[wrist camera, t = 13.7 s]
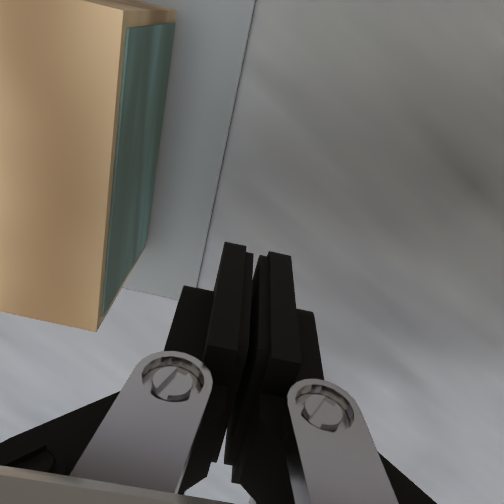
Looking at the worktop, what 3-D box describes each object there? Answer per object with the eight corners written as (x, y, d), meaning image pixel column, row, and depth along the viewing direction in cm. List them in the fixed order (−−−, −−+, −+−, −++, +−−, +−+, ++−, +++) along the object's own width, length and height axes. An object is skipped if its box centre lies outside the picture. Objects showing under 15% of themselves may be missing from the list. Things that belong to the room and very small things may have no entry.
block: (179, 10, 17) (126, 11, 11) (147, 247, 22) (98, 332, 16) (81, -14, 17) (-22, -27, 11) (71, 229, 21) (-7, 310, 16)
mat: (258, -15, 17) (257, -15, 17) (194, 297, 23) (192, 303, 23) (-162, -125, 16) (-174, -129, 16) (-108, 230, 23) (-116, 234, 22)
